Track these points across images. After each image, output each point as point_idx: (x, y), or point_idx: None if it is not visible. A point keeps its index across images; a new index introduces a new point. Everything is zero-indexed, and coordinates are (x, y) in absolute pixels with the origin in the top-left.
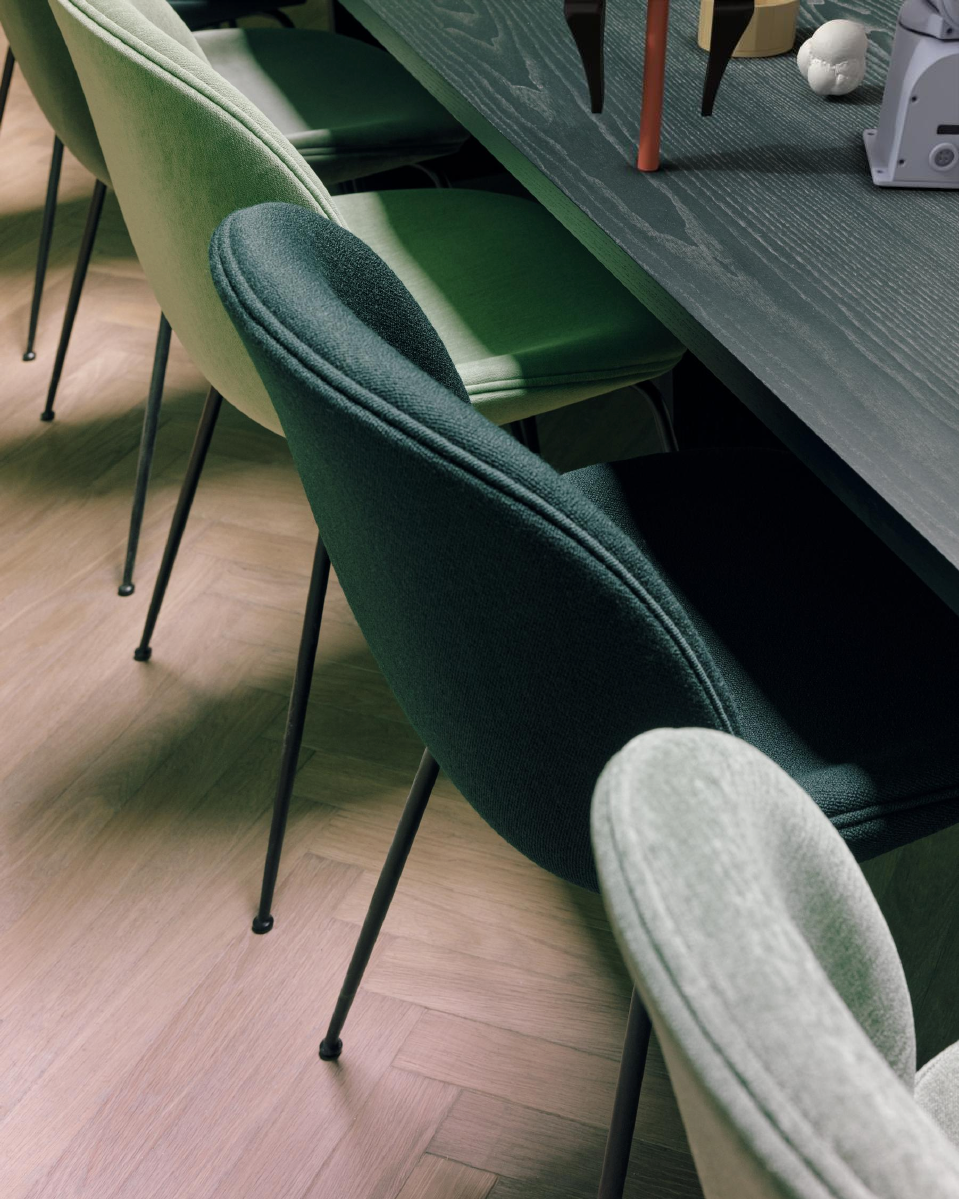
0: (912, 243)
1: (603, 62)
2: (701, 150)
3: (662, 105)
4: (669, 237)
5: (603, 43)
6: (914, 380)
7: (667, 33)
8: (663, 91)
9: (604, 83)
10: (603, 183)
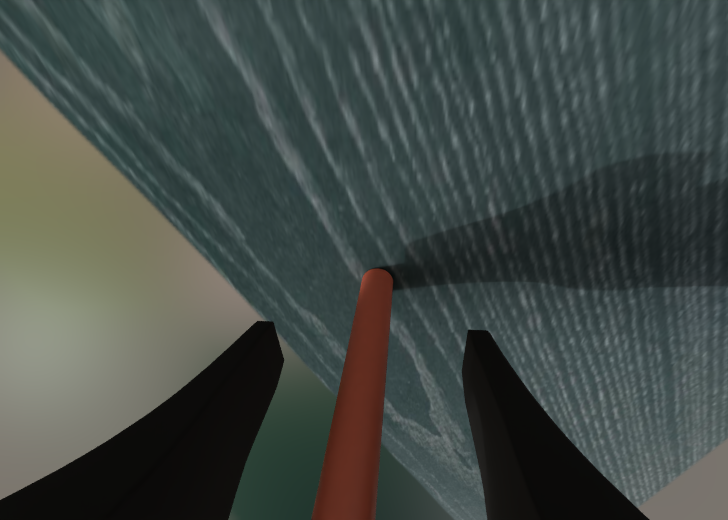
0: (677, 439)
1: (233, 379)
2: (469, 205)
3: (387, 354)
4: (413, 423)
5: (208, 417)
6: None
7: (375, 513)
8: (385, 376)
9: (256, 342)
10: (324, 325)
